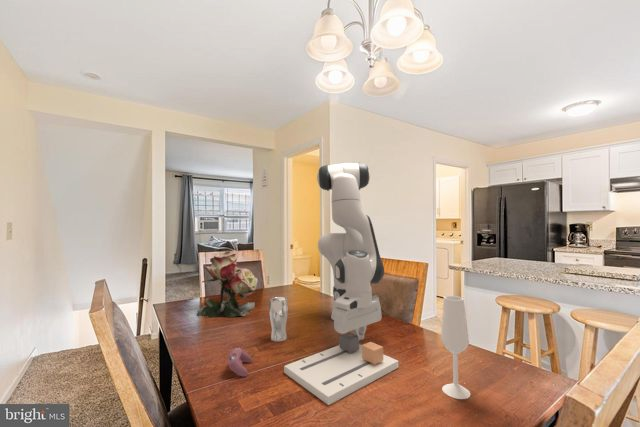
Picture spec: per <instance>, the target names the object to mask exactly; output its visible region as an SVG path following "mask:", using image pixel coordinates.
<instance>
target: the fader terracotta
mask: <svg viewBox="0 0 640 427" xmlns="http://www.w3.org/2000/svg"><path fill="white" fill-rule="evenodd" d="M361 345H362V359H364V360H366V361H368V362H370V363H372V364H377V363H379V362H381V361H383V354H384V346H382V345H379V344H376V343H375V342H373V341H369V342H366V343H363V344H361Z"/></svg>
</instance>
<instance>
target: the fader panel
mask: <svg viewBox="0 0 640 427" xmlns="http://www.w3.org/2000/svg"><path fill="white" fill-rule="evenodd" d="M362 345H363V344H361V343H359V350H356V351H354V352H351V353H349V352H347V351H345V350H343V349H341V348H340V344H338V345H336V346H334V347H331V348H328V349H325V350H323V351H320V352H317V353H314V354H312V355H310V356H307V357H304V358H301V359H299V360H296V361H292V362H290V363H288V364H286V365H283V366H284V367H283V374H285V375H286V376H288V377H289V378H291V379H292V380H294V382H296V383H297V384H299V385H301V387H303V388H304V389H305V390H307V391H308V392H309V393H311V394H312V395H314V396H315V397H317V398H318V399H319V400H321V401H322V402H323V403H324V404H326V405H327V406H330V405H331V404H334V403H336V402H337V401H339V400H341V399H342V398H345V397H346V396H349V395H350V394H352V393H354V392H356V391H358V390H360V389H362V388H364V387H365V386H368V385H369V384H371V383H373V382H375V381H376V380H378V379H380V378H382V377H384V376H386V375H388V374H389V373H391V372H393V371H395V370H397V369H398V368H399V367H400V366H399V362H400V361H399V359H398V360H397V359H395V358H393V357H391V356H388V355H386V354H384V353H383V361H381V362H379V363H377V364H372V363H370V362H368V361H366V360H364V359H362Z"/></svg>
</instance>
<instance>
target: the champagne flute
mask: <svg viewBox="0 0 640 427" xmlns="http://www.w3.org/2000/svg"><path fill="white" fill-rule="evenodd" d="M442 302H443V305H442V315H441V316H442V317H441V327H440V328H441V330H440V341H441V343H442V345H443V346H444V347H445V348H446V349H447V350H448V351H449V352H450V353H451V354H452V378H453V379H452V383H448V384H444V385H443V386H442V388H441V389H442V392H443V393H444V394H445V395H447V396H449V397H450V398H453V399H456V400H457V399H458V400H466V399H469V398H470V396H471V391H470V390H468V388H466V387H464V386H462V385H461V384H459V361H458V360H459V358H458V355H459V354H461V353H462V352H464V351H465V350H466V349H467V348H469V347H468V346H469V345H470V338H469V330H468V325H467V324H468V323H467V317H466V307H465V300H464V298H463V297H461V296H457V295H445V296H443V301H442Z"/></svg>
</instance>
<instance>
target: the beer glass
mask: <svg viewBox="0 0 640 427" xmlns="http://www.w3.org/2000/svg"><path fill="white" fill-rule="evenodd" d="M268 309H269V311H268V312H269V319H270V325H271V326H270V327H271V334H270V341H272V342H278V343H279V342H283V341H285V340H287V338H288V336H287V328H286V327H287V320H288V309H289V306H288V297H285V296H274V297H272V298H269V308H268Z"/></svg>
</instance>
